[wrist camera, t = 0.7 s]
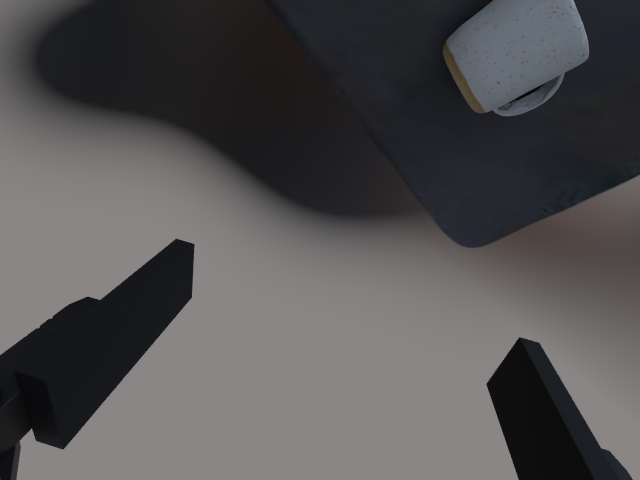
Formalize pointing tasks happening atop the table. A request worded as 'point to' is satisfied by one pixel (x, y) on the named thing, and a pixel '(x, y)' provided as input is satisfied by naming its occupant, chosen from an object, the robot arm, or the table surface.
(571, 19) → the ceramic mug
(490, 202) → the table surface
